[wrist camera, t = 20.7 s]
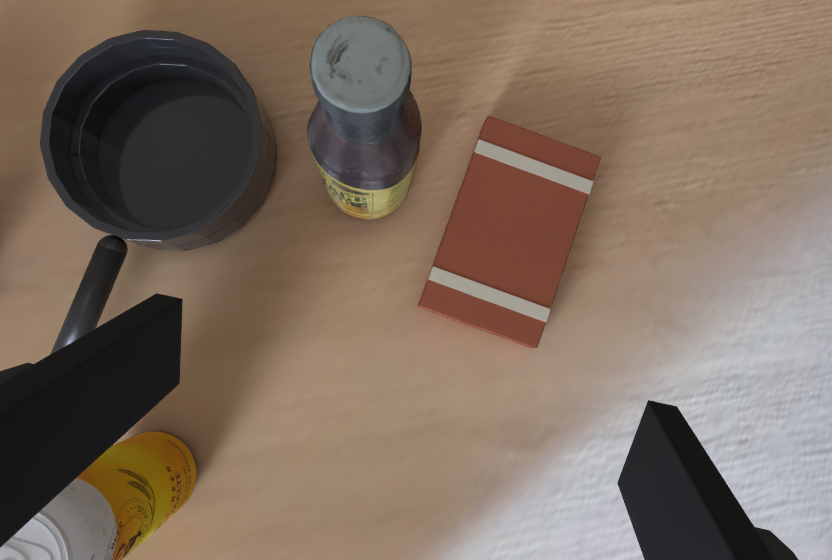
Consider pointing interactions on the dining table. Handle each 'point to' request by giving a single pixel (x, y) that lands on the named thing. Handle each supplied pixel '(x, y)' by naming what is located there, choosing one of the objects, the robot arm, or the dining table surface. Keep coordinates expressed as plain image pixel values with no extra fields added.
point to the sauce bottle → (363, 116)
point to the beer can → (111, 503)
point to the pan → (158, 141)
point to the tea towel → (510, 232)
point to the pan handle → (93, 290)
